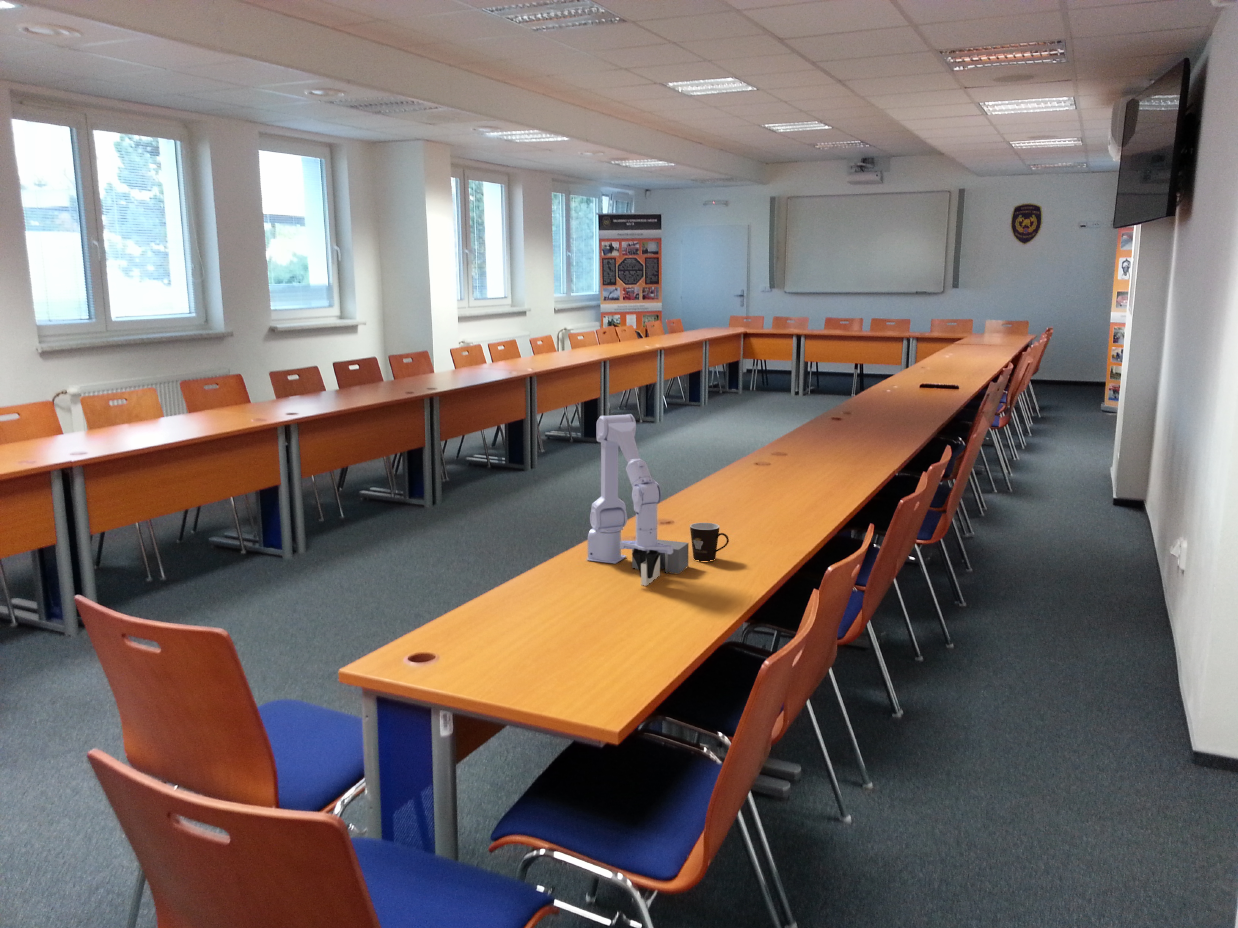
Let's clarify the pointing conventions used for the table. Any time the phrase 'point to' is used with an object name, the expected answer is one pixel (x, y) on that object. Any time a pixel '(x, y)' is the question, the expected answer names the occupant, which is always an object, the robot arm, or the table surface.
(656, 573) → the white flat block
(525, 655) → the table surface
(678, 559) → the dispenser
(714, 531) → the coffee mug
